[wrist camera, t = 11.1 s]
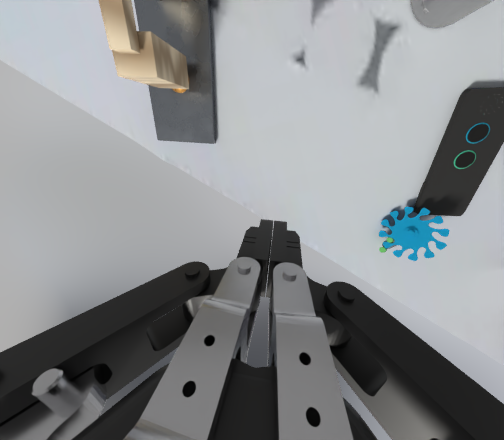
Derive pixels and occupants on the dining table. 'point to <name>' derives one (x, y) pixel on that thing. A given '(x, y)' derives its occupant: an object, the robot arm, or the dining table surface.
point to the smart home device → (464, 152)
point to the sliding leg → (141, 50)
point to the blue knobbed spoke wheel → (412, 233)
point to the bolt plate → (198, 67)
